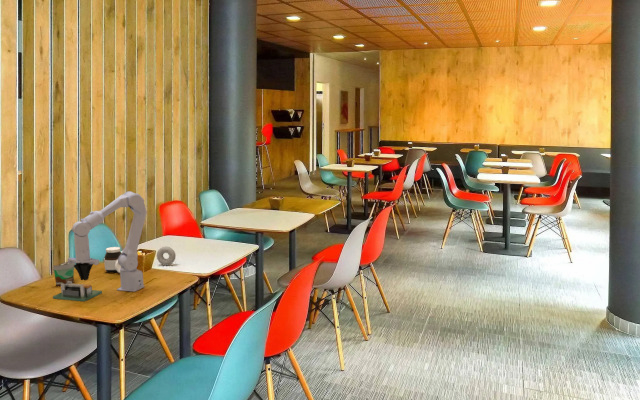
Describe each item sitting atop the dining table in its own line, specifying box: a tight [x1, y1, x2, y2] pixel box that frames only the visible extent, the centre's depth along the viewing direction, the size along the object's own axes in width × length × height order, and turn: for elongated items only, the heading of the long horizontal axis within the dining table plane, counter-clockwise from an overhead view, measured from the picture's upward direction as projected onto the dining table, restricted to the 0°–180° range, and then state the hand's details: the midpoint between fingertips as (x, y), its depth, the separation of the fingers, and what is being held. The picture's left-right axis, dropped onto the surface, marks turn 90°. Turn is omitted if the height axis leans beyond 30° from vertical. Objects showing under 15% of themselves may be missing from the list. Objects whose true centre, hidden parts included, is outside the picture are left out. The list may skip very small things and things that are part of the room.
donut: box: [156, 246, 176, 266], centre depth 311 cm, size 10×4×10 cm, turn 86°
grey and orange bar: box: [66, 283, 92, 288], centre depth 261 cm, size 12×2×1 cm, turn 74°
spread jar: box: [103, 246, 122, 274], centre depth 300 cm, size 12×11×12 cm
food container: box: [52, 261, 76, 287], centre depth 280 cm, size 12×6×10 cm, turn 168°
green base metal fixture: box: [52, 281, 103, 302], centre depth 262 cm, size 16×12×6 cm
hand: (84, 279), depth 260 cm, fingers closed
